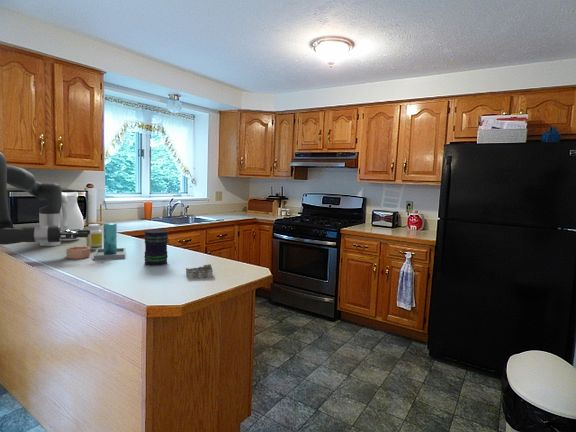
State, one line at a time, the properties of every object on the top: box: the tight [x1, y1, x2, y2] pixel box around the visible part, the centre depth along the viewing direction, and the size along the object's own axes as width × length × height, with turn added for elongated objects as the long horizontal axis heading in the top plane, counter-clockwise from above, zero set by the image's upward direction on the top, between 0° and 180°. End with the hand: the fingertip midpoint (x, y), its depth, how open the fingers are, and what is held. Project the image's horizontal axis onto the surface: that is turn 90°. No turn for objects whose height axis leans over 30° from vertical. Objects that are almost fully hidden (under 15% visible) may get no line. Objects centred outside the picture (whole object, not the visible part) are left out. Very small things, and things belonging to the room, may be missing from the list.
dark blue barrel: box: [143, 229, 169, 267], centre depth 156 cm, size 10×10×15 cm
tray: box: [93, 247, 126, 261], centre depth 168 cm, size 16×13×2 cm
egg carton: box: [185, 264, 214, 279], centre depth 140 cm, size 11×8×4 cm
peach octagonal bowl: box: [65, 245, 91, 260], centre depth 163 cm, size 9×9×4 cm
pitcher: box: [60, 191, 85, 242], centre depth 200 cm, size 24×17×28 cm
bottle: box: [103, 222, 118, 255], centre depth 167 cm, size 6×6×15 cm
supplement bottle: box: [86, 223, 103, 251], centre depth 181 cm, size 7×7×13 cm
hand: (89, 233), depth 163 cm, fingers open, 8 cm apart
